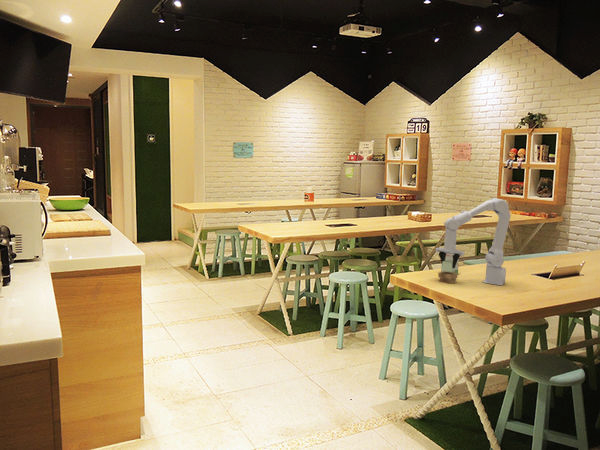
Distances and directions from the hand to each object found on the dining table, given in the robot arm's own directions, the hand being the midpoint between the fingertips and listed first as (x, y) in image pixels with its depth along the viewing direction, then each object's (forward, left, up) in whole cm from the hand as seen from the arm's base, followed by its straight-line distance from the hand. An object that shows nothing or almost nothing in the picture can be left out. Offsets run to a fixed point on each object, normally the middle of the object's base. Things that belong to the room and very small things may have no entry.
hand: (448, 267), depth 265 cm
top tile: (0, 0, -6) cm, 6 cm away
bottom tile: (0, 0, -8) cm, 8 cm away
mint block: (0, 0, -2) cm, 2 cm away
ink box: (+6, -19, -8) cm, 21 cm away
